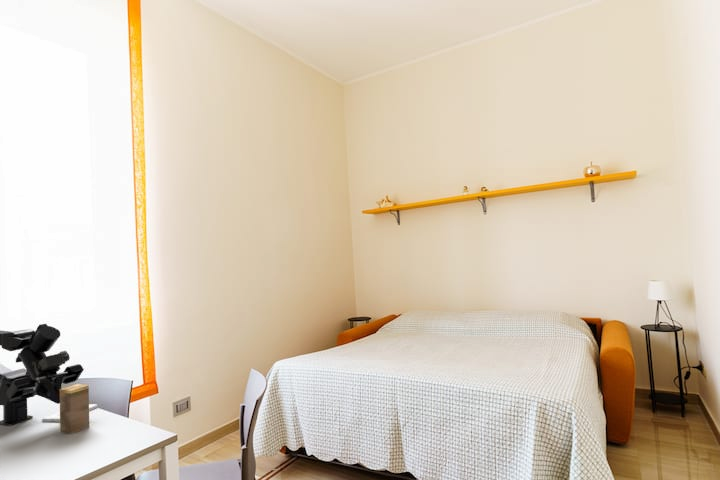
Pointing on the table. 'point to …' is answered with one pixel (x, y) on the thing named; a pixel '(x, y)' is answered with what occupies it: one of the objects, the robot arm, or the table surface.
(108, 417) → the table surface
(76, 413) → the walnut block
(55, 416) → the external hard drive
